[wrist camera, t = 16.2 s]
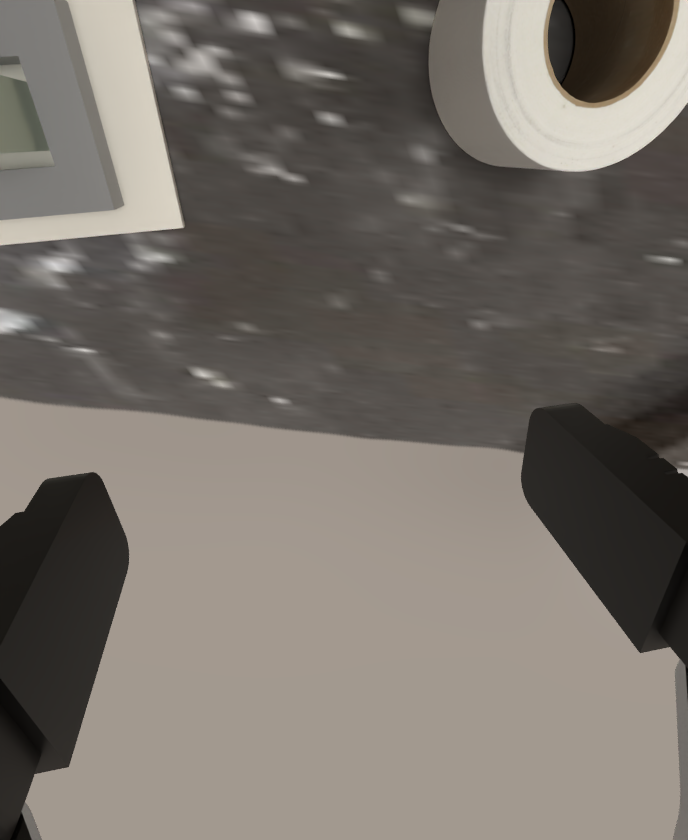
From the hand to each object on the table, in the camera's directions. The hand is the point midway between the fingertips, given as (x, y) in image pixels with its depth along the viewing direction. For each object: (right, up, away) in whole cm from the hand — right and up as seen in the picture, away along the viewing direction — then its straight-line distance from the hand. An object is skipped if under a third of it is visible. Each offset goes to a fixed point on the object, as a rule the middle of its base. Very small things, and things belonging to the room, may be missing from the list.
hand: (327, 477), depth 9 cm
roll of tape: (+14, +30, +28) cm, 43 cm away
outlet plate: (-23, +22, +25) cm, 41 cm away
